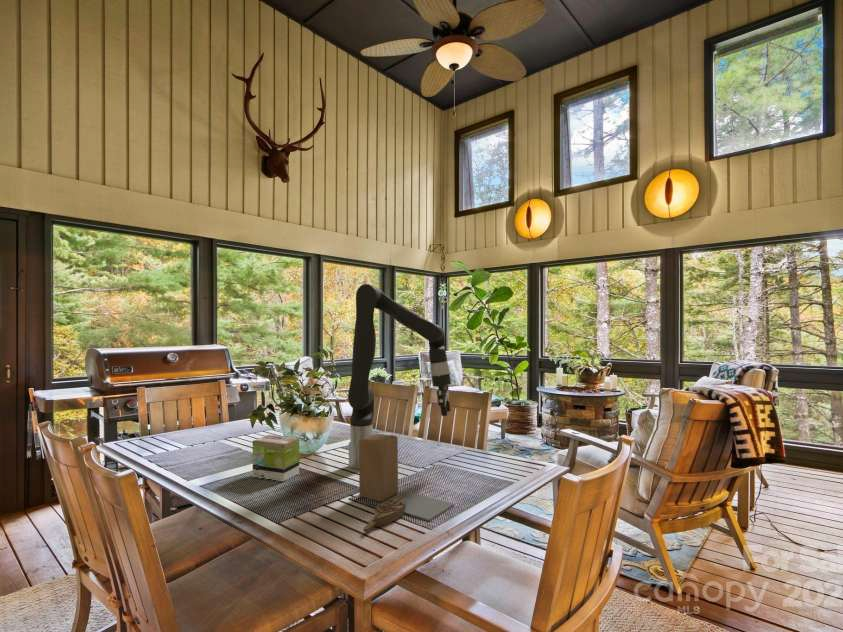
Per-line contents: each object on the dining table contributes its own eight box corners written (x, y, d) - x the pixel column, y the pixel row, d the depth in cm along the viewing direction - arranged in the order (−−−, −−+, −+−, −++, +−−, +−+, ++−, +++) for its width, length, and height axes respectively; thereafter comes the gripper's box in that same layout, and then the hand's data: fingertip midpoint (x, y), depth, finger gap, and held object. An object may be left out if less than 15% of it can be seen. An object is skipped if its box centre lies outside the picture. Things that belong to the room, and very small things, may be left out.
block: (381, 503, 148) (381, 442, 149) (358, 497, 154) (357, 438, 154) (399, 493, 157) (398, 435, 157) (376, 488, 162) (375, 432, 162)
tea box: (251, 478, 174) (251, 440, 174) (268, 470, 183) (268, 434, 183) (284, 483, 168) (283, 443, 169) (300, 474, 178) (300, 436, 178)
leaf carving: (354, 532, 128) (354, 523, 128) (392, 501, 148) (392, 493, 147) (377, 537, 125) (376, 527, 124) (412, 505, 144) (412, 496, 144)
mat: (378, 506, 146) (378, 504, 146) (405, 492, 157) (405, 490, 157) (429, 521, 134) (429, 519, 134) (454, 505, 146) (454, 503, 146)
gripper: (434, 372, 190) (440, 411, 189) (427, 376, 176) (433, 418, 175) (452, 370, 188) (457, 409, 188) (446, 374, 174) (452, 416, 174)
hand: (446, 413), depth 181 cm, fingers open, 8 cm apart
